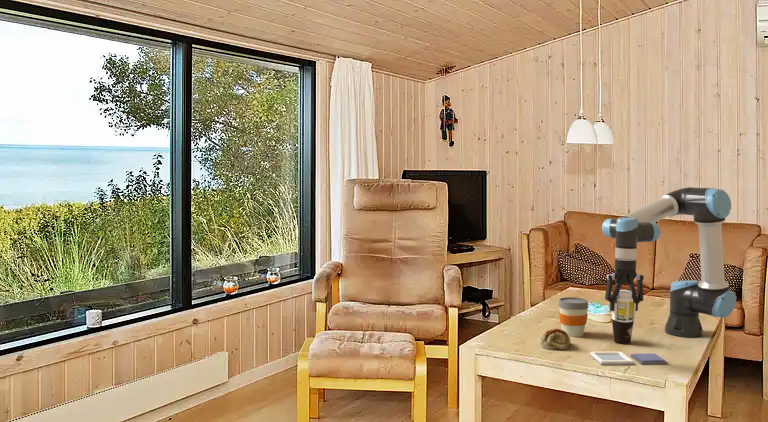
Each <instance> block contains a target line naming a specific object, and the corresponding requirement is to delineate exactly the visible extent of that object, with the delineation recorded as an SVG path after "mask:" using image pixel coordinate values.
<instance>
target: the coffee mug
mask: <svg viewBox="0 0 768 422" xmlns="http://www.w3.org/2000/svg"><path fill="white" fill-rule="evenodd" d="M634 321H635V320H633V321H632V322H618V321H616V320H613V319H612V318H611V322H612V334H613V342H614V343H615V344H619V345H630V344H631V341H632V340H631V339H632V334H633V329H634V328H633V327H634V323H635V322H634Z"/></svg>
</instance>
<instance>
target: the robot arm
mask: <svg viewBox="0 0 768 422" xmlns="http://www.w3.org/2000/svg"><path fill="white" fill-rule="evenodd" d="M731 209H732V202H731V198H730V196H729V194H728V193H727V192H726V191H725V190H723V189H720V188H715V187H690V186H688V187H682V188H679V189H675V190H673V191H671V192H668V193H665V194H663V195H662V196H660V197H659V199H657V201H654V202H652V203H649V204H647V205H645V206H642V207H640V208H638V209H636V210H634V211H631V212H629V213H628V214H625V215H624V216H621V217H618V218H607V219H605V220H604V221H603V222H602V226H601V232H602V234H603V235H604V237H606V238H610V239H615V248H614V249H615V250H614V251H615V252H614V253H615V254H614V256H615V260H614V271H613V273H611V274H608V273H607V274H606V275H605V276H606V287H605V288H606V290H605V296H604V300H606V301H607V302H609V310H610V312H611V320H612V319H613V320H617V303H616V302H615V301H616V298H617V297H618V293H619V290H621V287H622V286H623V285H625V284H627V286H628V289H629V291H632V297H631V298H632V299H633V320H634V321H636V312H638V310H639V303H641V302H643V301H644V286H643V284H644V283H643V281H644V278H645V276H644V275H643V274H640V273H637V272H636V271H637V261H636V259H637V253H638V251H637V250H638V248H637V247H638V243H650V242H655V241H657V240H658V239H659V238H660V236H661V228H660V225H659V224H658V223H656V222H659V221H660V220H662V219H665V218H667V217H669V218H672V217H675V216H680V215H682V216H683V215H685V216H693V223H695V224H696V225H697V226H698V243H699V246H698V247H699V260H700V261H699V262H700V275H701V281H699V280H695V279H694V280H675V281H672V282H671V284H670V291H669V292H670V293H669V316H668V317H667V320H666V323H665V326H664V332H665V334H668V335H670V336H676V337H682V338H699V337H702V336H703V335H704V334H703V331H704V330H703V326H702V323H701V320H700V314H703V315H706V316H711V317H714V318H722V319H723V318H727V317H729V316H730V315H731V314H732V313H733V311H734V309H735V308H736V304H737V295H736V294H735V292H734V291H733V290H730V284H729V282H727V281H726V280H725V268H724V250H723V249H724V247H723V228H722V225H723V223H724V222H726V218H727V217H728V216H729V215H730V214H731ZM614 279H616V280H615V283H613V281H614ZM635 279H636V288H635V282H634V280H635ZM613 284H614V287H613Z"/></svg>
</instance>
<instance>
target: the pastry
mask: <svg viewBox="0 0 768 422" xmlns="http://www.w3.org/2000/svg"><path fill="white" fill-rule="evenodd" d="M540 344H541V346H542V349H544V350H549V351H553V350H557V351H559V350H561V351H565V350H567V349H569V347H570V346H571V337H570V336H569V335H568V334H567V333H566V332H565V331H563V330H562V329H559V328H551V329H547V330H545V331H544V332H543V334H542V335H541V336H540Z"/></svg>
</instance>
